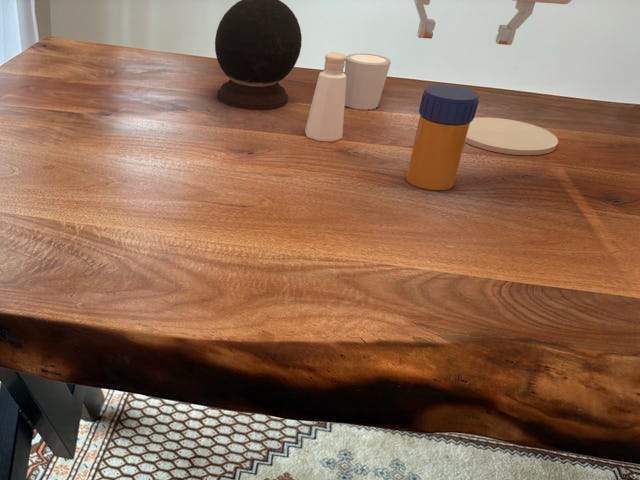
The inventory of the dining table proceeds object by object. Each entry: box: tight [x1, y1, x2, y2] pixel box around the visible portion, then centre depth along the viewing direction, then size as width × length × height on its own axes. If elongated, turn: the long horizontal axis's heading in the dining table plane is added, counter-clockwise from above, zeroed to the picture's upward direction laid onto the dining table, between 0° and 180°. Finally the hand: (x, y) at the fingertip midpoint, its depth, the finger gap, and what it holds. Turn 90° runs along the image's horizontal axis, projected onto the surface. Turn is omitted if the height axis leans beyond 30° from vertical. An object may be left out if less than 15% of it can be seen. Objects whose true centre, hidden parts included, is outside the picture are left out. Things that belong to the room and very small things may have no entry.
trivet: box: [465, 117, 559, 156], centre depth 111 cm, size 14×14×1 cm
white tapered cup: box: [344, 53, 392, 111], centre depth 120 cm, size 7×7×7 cm
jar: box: [405, 114, 471, 191], centre depth 93 cm, size 6×6×10 cm
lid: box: [418, 84, 480, 124], centre depth 91 cm, size 6×6×3 cm
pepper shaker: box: [304, 52, 347, 143], centre depth 106 cm, size 5×5×11 cm
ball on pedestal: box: [214, 0, 303, 111], centre depth 118 cm, size 13×13×15 cm
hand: (463, 40), depth 86 cm, fingers open, 7 cm apart
